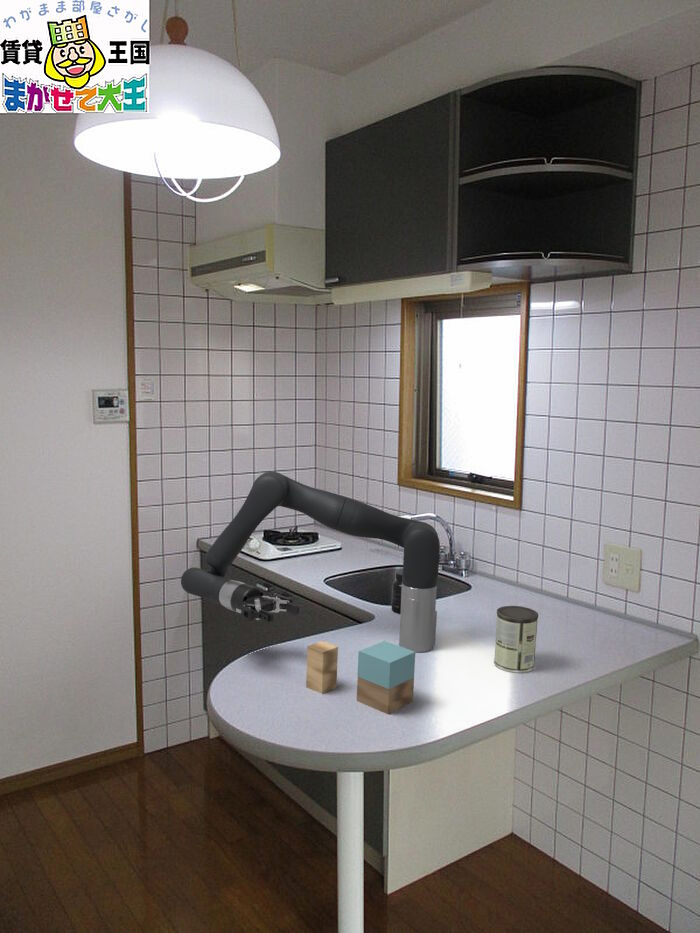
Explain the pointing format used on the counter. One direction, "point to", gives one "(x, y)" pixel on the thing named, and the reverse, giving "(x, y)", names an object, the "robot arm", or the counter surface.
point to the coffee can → (515, 639)
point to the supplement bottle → (397, 593)
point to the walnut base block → (384, 695)
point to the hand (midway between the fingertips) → (285, 614)
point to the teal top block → (386, 664)
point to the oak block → (322, 667)
